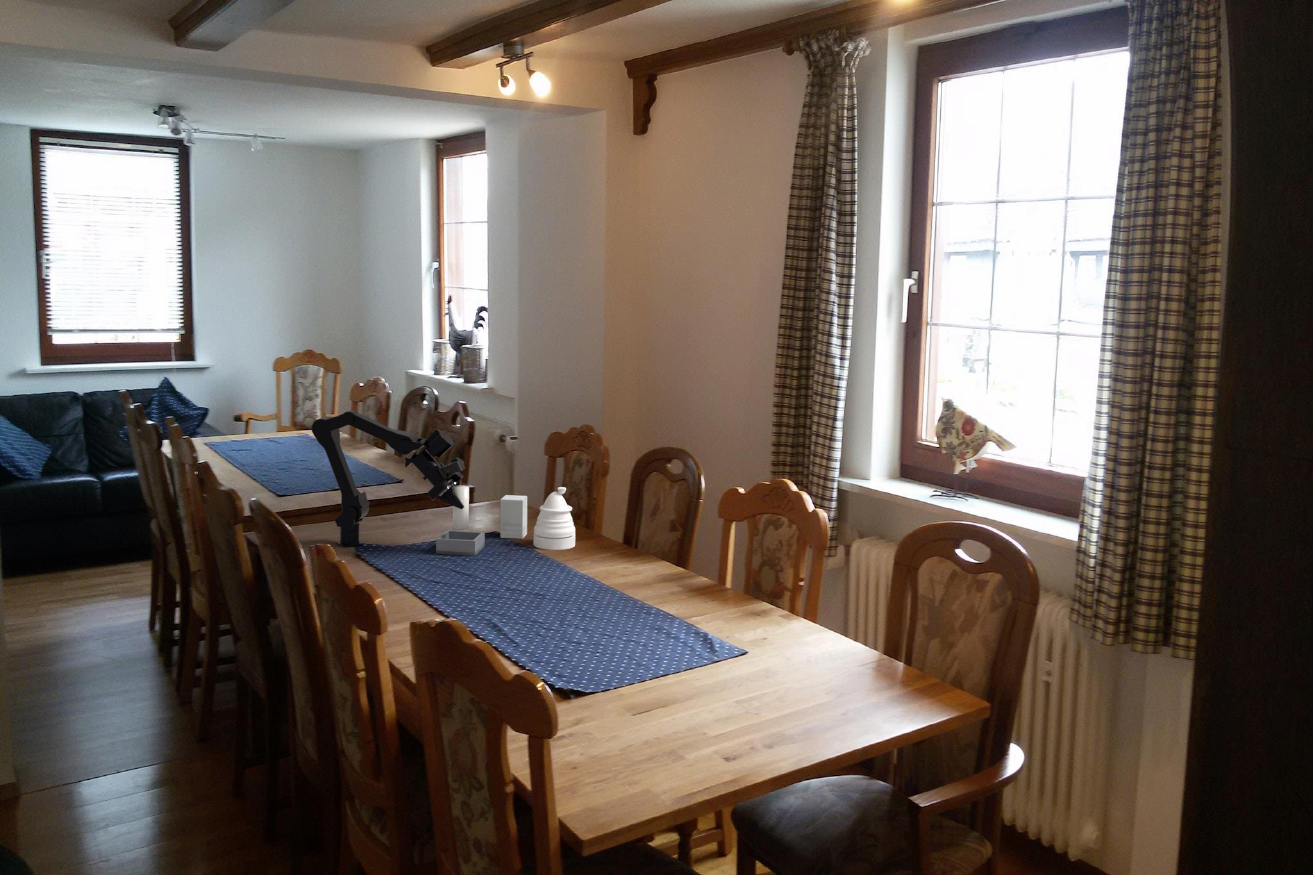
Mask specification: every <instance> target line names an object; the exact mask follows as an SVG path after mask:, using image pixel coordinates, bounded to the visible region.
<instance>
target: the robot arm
mask: <svg viewBox="0 0 1313 875" xmlns="http://www.w3.org/2000/svg"><path fill="white" fill-rule="evenodd" d="M346 426H350V427H353V428H355V429H358V430H360V431H362V432H364V433H366V434H368V435H370V436H371V437H375V438H377V439H379V440H380V441H383V442H385V443H386V445H388V446H389V447H390V448H391V449H392V450H393V451H396V453H398V454H400V455H402V456H406V455H408V454H411V453H413V454H411V456H407V457H405V458H404V460H405V462H404V467H405V468H408V467H409V466H411V465H413V466H414V468H415V469H416V470H418V472H419V473H420V474H421V476H423V477H422V480H424V481H426V480H427V481H428V482H429V484H431V486H432V487H431V488H430V489H429V491H428V492H427V494H428V495H427V496H428V498H429V499H430V500H431V501H434V500H436V499H437V501H440V502H443V503H446V504H448V505H450V506H452V507H453V506H455V507H457V508H460V509H463V508H464V505H463V504H462V502H461V501H460V499H459V498H458V497H457V495H456V494H455V492H454V486H457V485H462V482H463V480H462V479H463V478H464V475H463V474H462V473H461V472H463V471H464V470H466V467H465V461H464V460H463V459H462V458H461V459H460V458H459V457H458V456H457V457H454V458H452V459H451V463H448V464H446V465H445V464H444V463H443V462H440V463H438V461H437V460H436V459H435V458H440V459H441V458H442V457H443V456H444V454H446V453H447V452H448V451H449V450H450V449H451V448H452V447H453V446H454V445H455V442H454V441H453V439H452V437H451V436H450V435H448V434H446V433H445V432H444V431H442V430H440V428H436V429H435V430H434V431H433V432H432V434H430V436H429V437H427V438H422V437H418V436H417V435H416V434H415V433H412V432H408V431H405V430H400V429H394V428H391V427H389V426H387V425H384V424H382V423H380V422H378V421H376V420H374V419H372V418H369V417H367V416H365V415H363V414H361V413H359V412H358V411H357V410H354V409H353V410H351V409H350V410H348V411H345V412H343V413H341V414H339V415H336V416H333V417H332V416H325V417H321V418H318V419H316V420H314V421H313V423H312V424H311V427H310V428H311V433H312V434H313V436H314V438H315V439H316V442H317V443H318V444H319V445H320V446H321V447H322V449H324V451H325V453H326V456H327V459H328V462H329V464H330V467H331V470H332V473H333V475H334V479H335V481H336V484H337V486H338V489H339V490H340V494H341V496H340V497H341V500H340V502H341V503H340V505H341V510H342V513H340V515H338V517H337V518H335V519H334V521H335V522H334V523H335V525H336V527H338V528H339V540H336V541H335V544H337V545H339V546H340V547H343V548H346V547H355V546H364V545H365V544H364V542H362V541H361V540H360V538H361V537H360V536H361V535H360V533H361V530H360V526H361V525H360V522H363V519H364V518H365V517H366V516H367V515H368V513H369V511H370V506H369V505H370V504H371V502H370V501H369V500H368V497H367V492H366V491H363V492H361V491H360V490H359V489H358V488H357V486H356V483H355V481H354V478H353V476H352V473H351V470H350V468H349V466H348V462H347V460H346V457H345V453H344V452H343V448H342V446H341V432H340V429H342V428H344V427H346ZM422 448H423V449H422ZM419 449H422V450H421V451H418V450H419ZM438 496H439V497H438ZM437 497H438V498H437Z"/></svg>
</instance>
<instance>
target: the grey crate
mask: <svg viewBox="0 0 1313 875" xmlns="http://www.w3.org/2000/svg"><path fill="white" fill-rule="evenodd" d="M485 532H486V531H485ZM485 532H484V531H470V530H454V529H453V530H450V529H449V530H448V529H447V530H446V531H444V532H443V533H442V534H440V535H439V536H438V537H437V538H435V554H436V555H447V556H448V555H450V556H451V555H453V556H469V557H476V556H477V555H478V554H479V553H480V552H481V551H482V550H483V549H484V548H485V538H486V536H485V535H486V534H485Z"/></svg>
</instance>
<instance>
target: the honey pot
mask: <svg viewBox="0 0 1313 875" xmlns="http://www.w3.org/2000/svg"><path fill="white" fill-rule="evenodd" d="M566 491H567V488H566V487H563V486H560V487H557V491H553V492H551V493H550V494H549V495H548V496H547V497H546V499H545V501H544V503H543V504H542V505H541V506H539V510H540V512H539V515H538V516H537V520H536V522H535V525H534V527H533V546H534V547H536V548H538V549H541V550H542V549H543V550H548V551H549V550H550V551H553V550H554V551H560V550H569V549H572V548H574V547H575V546H576V527H575V525H574V520H573V517H572V515H571V512H572V511H573V507H572V506H570V505H569V504H567V502H566V500H565V498H564V497H563V496H564V494H565V493H566Z"/></svg>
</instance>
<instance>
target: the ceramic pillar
mask: <svg viewBox="0 0 1313 875" xmlns="http://www.w3.org/2000/svg"><path fill="white" fill-rule="evenodd" d="M454 492H455V494H456V495H457V497H458V498H459V499H460V501H461V502H462V504H463V505H464V508H463V509H460V508H457V507H455V506H453V505H452V529H453V530H455V531H466V530H468V529H469V522H470V521H469V519H470V518H469V516H470V515H469V513H470V512H469V511H470V503H469V502H470V486H469V485H465V484H464V485H462V484H461V485H457V486H454Z"/></svg>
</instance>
